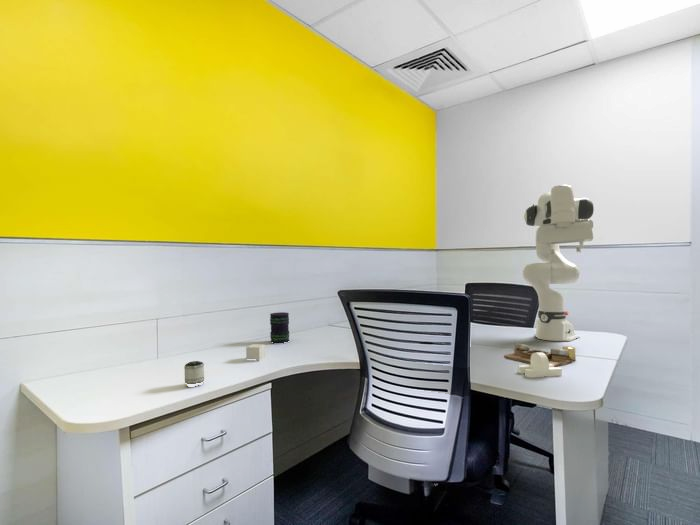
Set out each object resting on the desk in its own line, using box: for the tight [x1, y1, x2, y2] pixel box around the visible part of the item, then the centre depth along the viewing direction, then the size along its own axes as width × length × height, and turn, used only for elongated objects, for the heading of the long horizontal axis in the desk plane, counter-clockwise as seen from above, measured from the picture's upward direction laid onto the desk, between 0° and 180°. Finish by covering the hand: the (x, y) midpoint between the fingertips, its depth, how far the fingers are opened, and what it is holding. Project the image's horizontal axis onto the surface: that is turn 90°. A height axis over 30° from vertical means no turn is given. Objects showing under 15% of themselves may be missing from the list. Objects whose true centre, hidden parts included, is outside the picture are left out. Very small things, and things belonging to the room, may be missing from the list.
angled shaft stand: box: [550, 348, 568, 362], centre depth 152 cm, size 4×6×4 cm, turn 60°
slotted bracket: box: [517, 352, 563, 379], centre depth 138 cm, size 13×7×8 cm, turn 98°
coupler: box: [562, 346, 577, 362], centre depth 155 cm, size 4×4×5 cm
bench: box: [503, 342, 573, 367], centre depth 156 cm, size 15×20×5 cm
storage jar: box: [269, 311, 290, 344], centre depth 202 cm, size 10×10×15 cm
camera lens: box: [183, 360, 205, 384], centre depth 133 cm, size 6×6×8 cm
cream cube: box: [245, 343, 266, 360], centre depth 167 cm, size 6×6×6 cm
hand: (565, 253), depth 157 cm, fingers open, 8 cm apart
